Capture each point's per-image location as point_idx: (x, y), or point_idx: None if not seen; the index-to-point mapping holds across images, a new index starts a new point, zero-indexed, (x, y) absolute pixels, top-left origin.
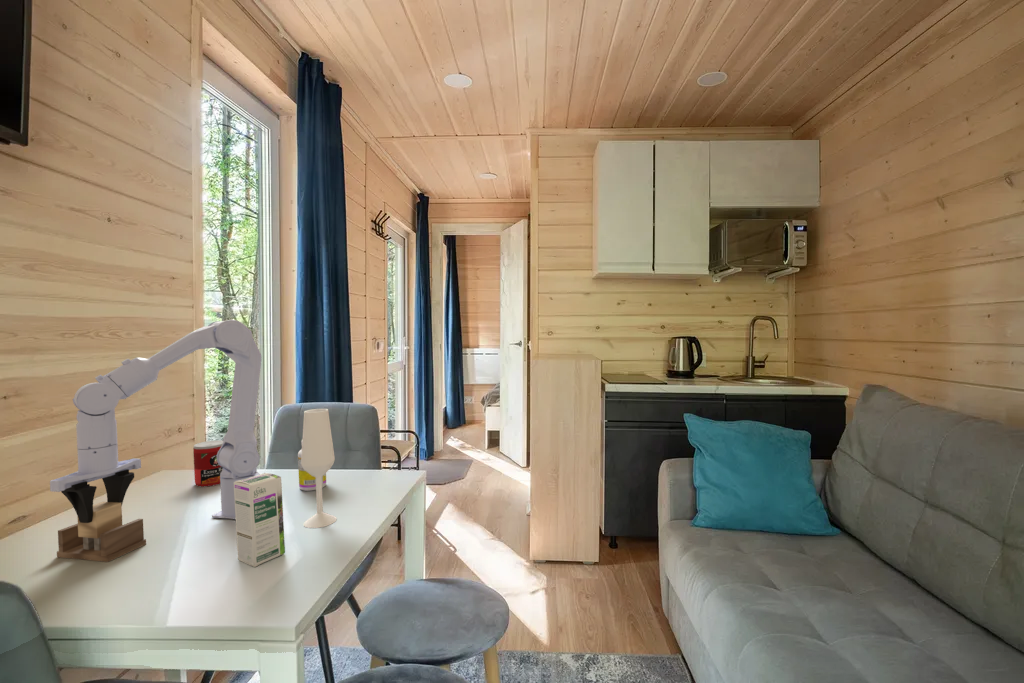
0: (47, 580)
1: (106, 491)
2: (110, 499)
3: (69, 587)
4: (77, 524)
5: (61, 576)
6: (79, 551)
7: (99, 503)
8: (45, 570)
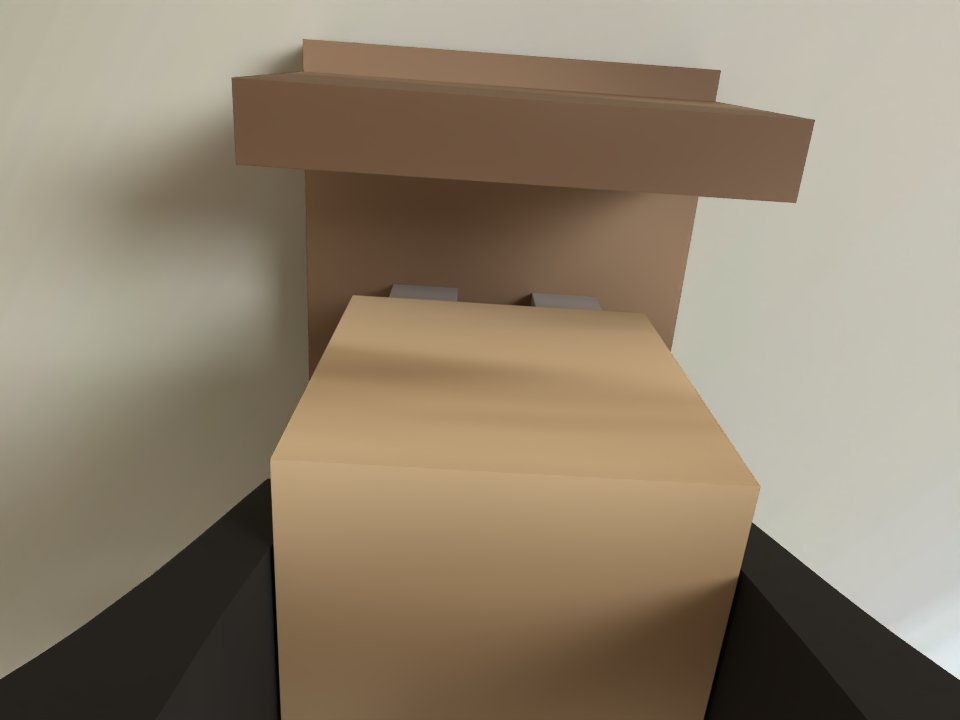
0: (5, 431)
1: (868, 717)
2: (750, 670)
3: (4, 658)
4: (472, 139)
5: (78, 471)
6: (348, 293)
7: (655, 514)
8: (101, 235)
